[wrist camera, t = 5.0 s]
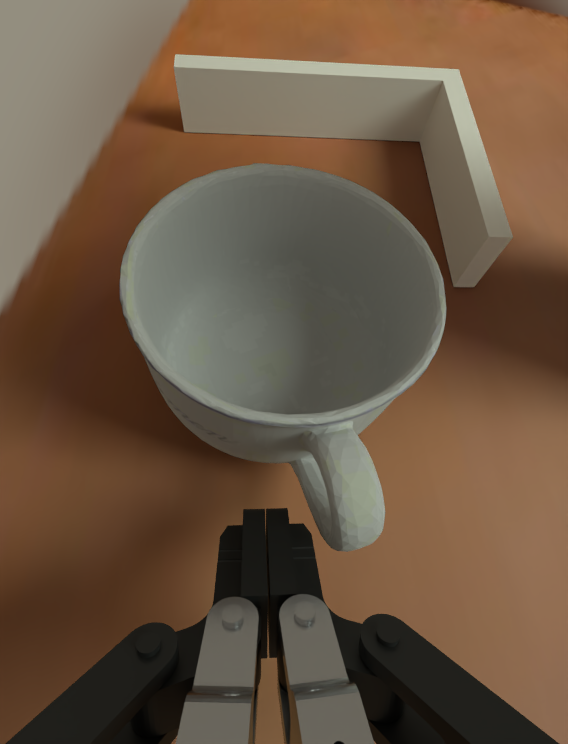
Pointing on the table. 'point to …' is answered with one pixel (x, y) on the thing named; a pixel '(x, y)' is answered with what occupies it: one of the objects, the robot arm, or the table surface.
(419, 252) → the teacup
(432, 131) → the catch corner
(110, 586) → the table surface
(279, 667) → the robot arm
